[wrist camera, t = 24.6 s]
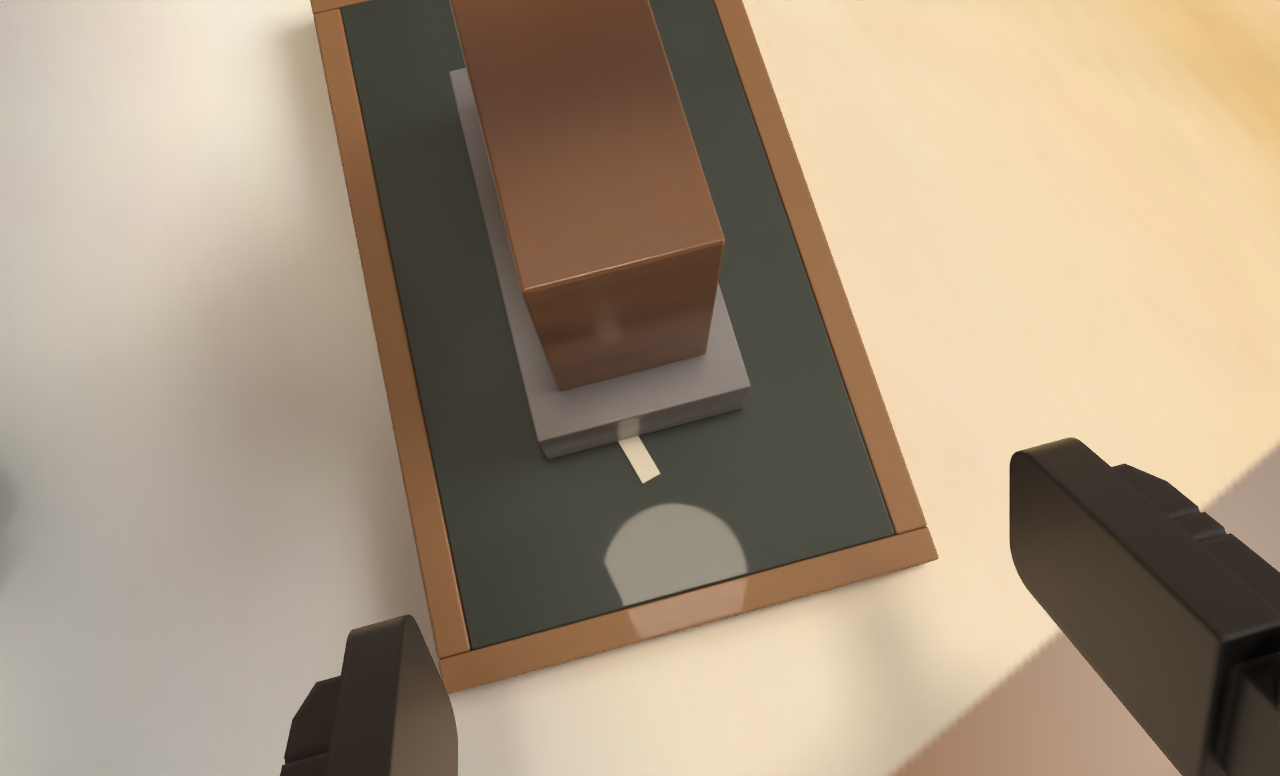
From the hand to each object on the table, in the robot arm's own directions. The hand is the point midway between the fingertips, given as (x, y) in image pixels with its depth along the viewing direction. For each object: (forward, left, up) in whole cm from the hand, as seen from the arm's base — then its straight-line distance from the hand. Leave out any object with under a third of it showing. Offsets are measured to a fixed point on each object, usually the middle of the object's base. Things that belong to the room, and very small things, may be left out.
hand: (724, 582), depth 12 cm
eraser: (0, +9, -10) cm, 14 cm away
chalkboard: (0, +10, -11) cm, 15 cm away
